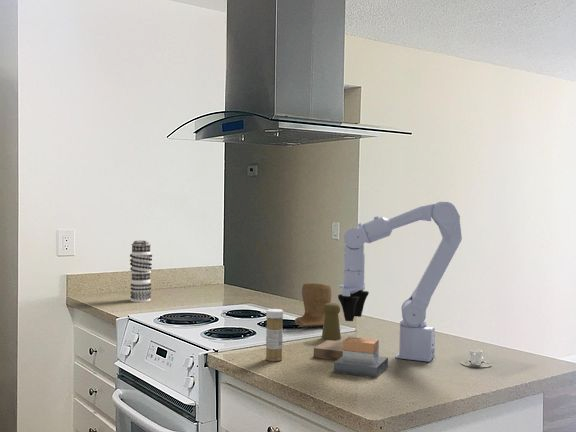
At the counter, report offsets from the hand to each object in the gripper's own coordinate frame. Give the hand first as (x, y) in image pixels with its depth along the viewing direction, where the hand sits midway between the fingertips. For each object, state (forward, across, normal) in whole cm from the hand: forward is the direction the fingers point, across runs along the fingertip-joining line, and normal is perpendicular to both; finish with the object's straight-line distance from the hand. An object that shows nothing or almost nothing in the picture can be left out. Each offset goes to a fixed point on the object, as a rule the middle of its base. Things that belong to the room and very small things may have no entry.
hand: (353, 318), depth 175 cm
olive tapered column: (+10, -16, -12) cm, 22 cm away
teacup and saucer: (+11, -5, +36) cm, 37 cm away
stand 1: (+10, +3, -3) cm, 11 cm away
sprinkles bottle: (+10, +16, -17) cm, 25 cm away
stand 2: (+10, +15, +7) cm, 19 cm away
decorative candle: (+10, -48, -108) cm, 119 cm away
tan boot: (+10, -32, -24) cm, 41 cm away
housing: (+7, +15, +7) cm, 18 cm away
